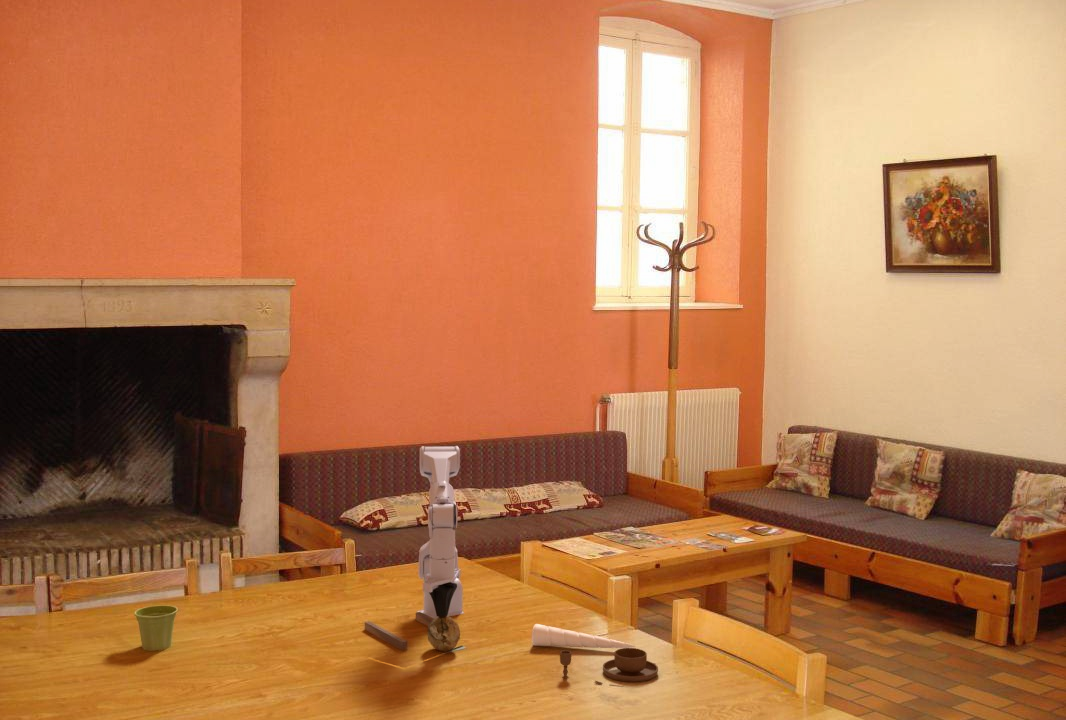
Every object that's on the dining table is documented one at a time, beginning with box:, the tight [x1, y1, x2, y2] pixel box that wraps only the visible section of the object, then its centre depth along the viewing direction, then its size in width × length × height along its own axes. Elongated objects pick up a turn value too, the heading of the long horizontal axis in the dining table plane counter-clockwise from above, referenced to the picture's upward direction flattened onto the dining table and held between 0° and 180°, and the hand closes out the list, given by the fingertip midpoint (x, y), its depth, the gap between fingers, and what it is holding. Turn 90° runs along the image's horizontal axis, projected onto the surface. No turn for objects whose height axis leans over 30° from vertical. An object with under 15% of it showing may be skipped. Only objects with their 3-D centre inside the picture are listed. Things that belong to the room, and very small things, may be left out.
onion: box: [427, 616, 461, 652], centre depth 247 cm, size 8×8×8 cm
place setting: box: [559, 647, 659, 688], centre depth 237 cm, size 18×20×6 cm
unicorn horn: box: [531, 623, 636, 649], centre depth 250 cm, size 5×24×5 cm
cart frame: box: [364, 611, 461, 652], centre depth 259 cm, size 15×18×2 cm
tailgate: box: [440, 645, 467, 655], centre depth 249 cm, size 1×12×5 cm
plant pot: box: [133, 604, 179, 652], centre depth 249 cm, size 9×9×9 cm
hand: (442, 616), depth 247 cm, fingers closed
